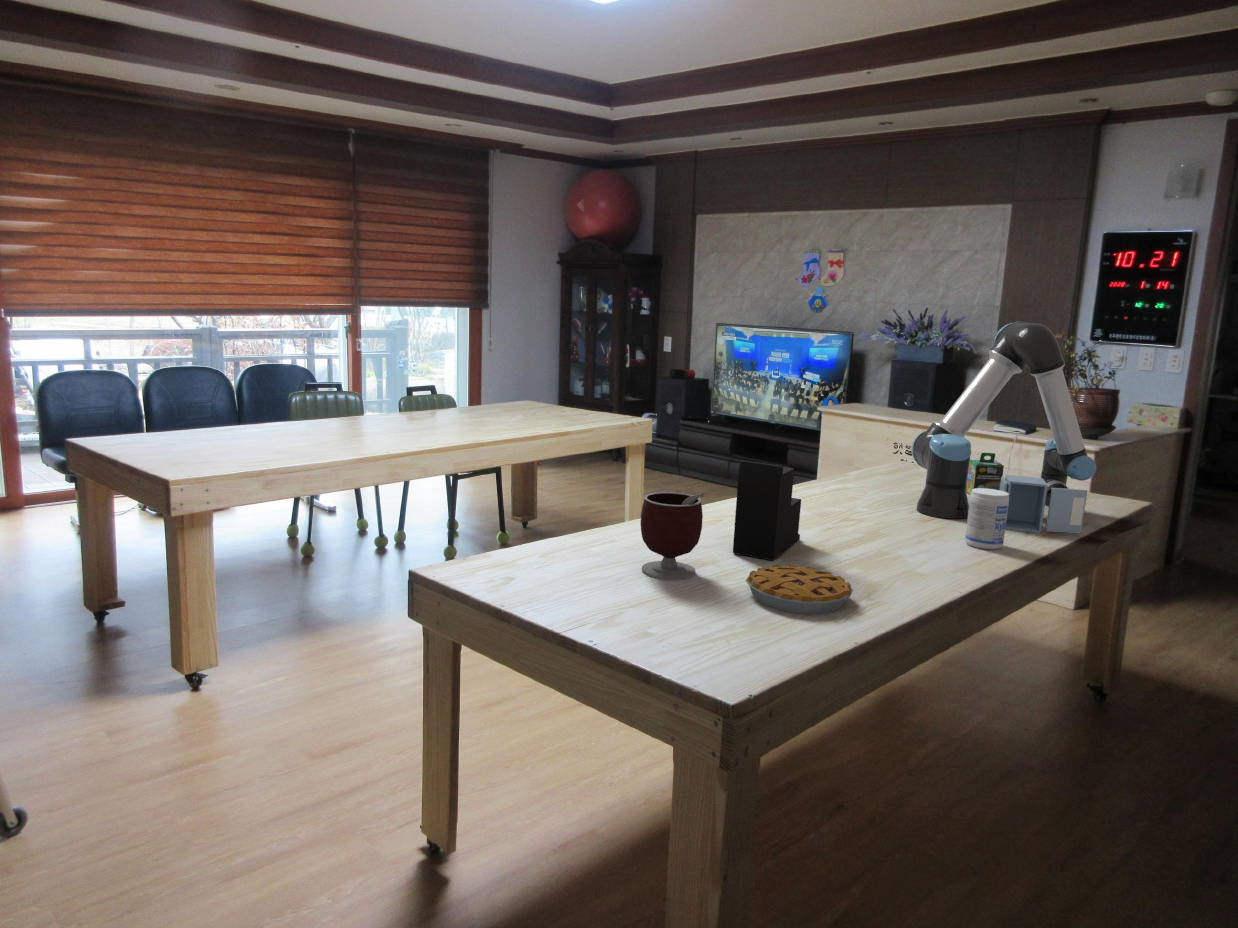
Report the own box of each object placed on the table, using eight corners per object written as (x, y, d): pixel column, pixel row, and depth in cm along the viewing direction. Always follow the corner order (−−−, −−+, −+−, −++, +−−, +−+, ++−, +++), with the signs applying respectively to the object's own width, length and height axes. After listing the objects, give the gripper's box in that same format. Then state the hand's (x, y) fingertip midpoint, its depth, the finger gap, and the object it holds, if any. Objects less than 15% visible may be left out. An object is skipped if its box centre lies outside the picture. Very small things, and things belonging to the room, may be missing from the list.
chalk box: (992, 493, 303) (997, 450, 300) (1000, 499, 294) (1006, 455, 291) (964, 491, 304) (969, 449, 301) (972, 497, 295) (977, 453, 292)
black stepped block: (761, 533, 238) (768, 447, 234) (800, 540, 234) (808, 452, 229) (731, 554, 218) (738, 460, 213) (773, 562, 213) (781, 466, 209)
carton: (998, 528, 255) (1005, 480, 253) (995, 520, 265) (1001, 474, 262) (1040, 532, 252) (1047, 484, 250) (1035, 524, 262) (1042, 478, 259)
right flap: (1046, 531, 251) (1052, 488, 249) (1045, 530, 252) (1051, 487, 250) (1081, 533, 251) (1087, 490, 248) (1079, 532, 252) (1086, 489, 249)
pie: (800, 624, 174) (802, 600, 173) (724, 591, 191) (726, 569, 190) (872, 605, 186) (874, 583, 185) (795, 576, 204) (796, 555, 203)
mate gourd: (625, 569, 202) (629, 484, 198) (666, 558, 212) (671, 476, 208) (676, 587, 191) (681, 497, 187) (717, 575, 201) (723, 489, 197)
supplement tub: (1000, 552, 230) (1007, 497, 227) (961, 546, 235) (968, 492, 232) (1004, 544, 238) (1011, 491, 236) (967, 538, 243) (974, 485, 240)
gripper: (1078, 509, 272) (1093, 527, 250) (1032, 504, 276) (1043, 521, 254) (1081, 485, 271) (1097, 501, 248) (1035, 480, 274) (1046, 496, 252)
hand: (1069, 511), depth 251 cm, fingers closed
